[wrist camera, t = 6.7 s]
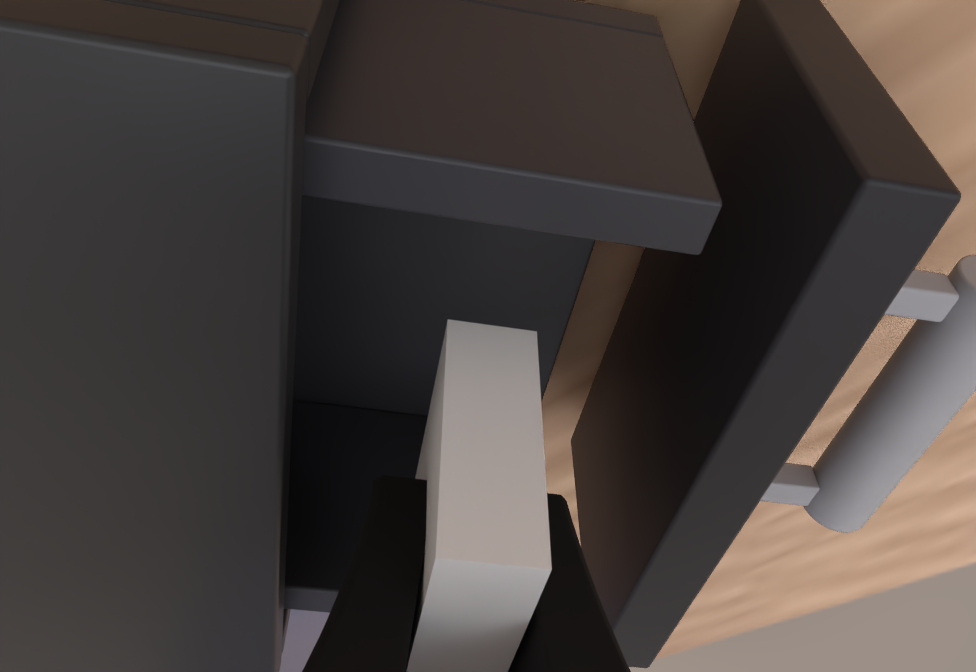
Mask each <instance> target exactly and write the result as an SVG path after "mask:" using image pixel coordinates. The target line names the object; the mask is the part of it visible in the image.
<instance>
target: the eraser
mask: <svg viewBox="0 0 976 672" xmlns="http://www.w3.org/2000/svg"><path fill="white" fill-rule="evenodd" d="M415 479H423V480H427V512H426V542H425V549H424V555H423V562H422V568H421V575H420V581H419V588H418V594H417V600H416V607H415V613H414V619H413V626H412V632H411V639H410V645H409V651H408V658H407V664H406V671H405V672H508V670H509V668H510V665H511V663H512V661H513V658H514V656H515V654H516V651H517V649H518V647H519V645H520V642H521V640H522V638H523V635H524V633H525V631H526V628H527V626H528V624H529V621H530V619H531V617H532V614H533V612H534V610H535V607H536V605H537V603H538V600H539V598H540V596H541V594H542V591H543V589H544V587H545V584H546V582H547V580H548V577H549V575H550V573H551V570H552V565H551V549H550V533H549V517H548V501H547V485H546V469H545V453H544V437H543V421H542V406H541V390H540V374H539V358H538V342H537V331H530V330H523V329H515V328H508V327H501V326H493V325H486V324H479V323H471V322H464V321H457V320H450V319H448V320H447V325H446V330H445V335H444V340H443V345H442V350H441V354H440V359H439V364H438V369H437V374H436V379H435V384H434V389H433V393H432V398H431V403H430V408H429V413H428V418H427V423H426V428H425V432H424V437H423V442H422V447H421V452H420V457H419V462H418V467H417V471H416V476H415Z"/></svg>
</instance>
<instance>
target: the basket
mask: <svg viewBox="0 0 976 672" xmlns="http://www.w3.org/2000/svg"><path fill="white" fill-rule="evenodd" d="M960 198H961V193H960V191H959V190H958V188H957V187H956V186H955V184H954V183H953V182H952V180H951V179H950V178H949V176H948V175H947V173H946V172H945V171H944V169H943V168H942V167H941V165H940V164H939V162H938V161H937V160H936V158H935V157H934V156H933V154H932V153H931V152H930V150H929V149H928V147H927V146H926V145H925V143H924V142H923V141H922V139H921V138H920V137H919V135H918V134H917V132H916V131H915V130H914V128H913V127H912V126H911V124H910V123H909V121H908V120H907V119H906V117H905V116H904V115H903V113H902V112H901V111H900V109H899V108H898V106H897V105H896V104H895V102H894V101H893V100H892V98H891V97H890V95H889V94H888V93H887V91H886V90H885V89H884V87H883V86H882V85H881V83H880V82H879V80H878V79H877V78H876V76H875V75H874V74H873V72H872V71H871V69H870V68H869V67H868V65H867V64H866V63H865V61H864V60H863V59H862V57H861V56H860V54H859V53H858V52H857V50H856V49H855V48H854V46H853V45H852V44H851V42H850V41H849V39H848V38H847V37H846V35H845V34H844V33H843V31H842V30H841V28H840V27H839V26H838V24H837V23H836V22H835V20H834V19H833V18H832V16H831V15H830V13H829V12H828V11H827V9H826V8H825V7H824V5H823V4H822V2H821V1H820V0H741V1H740V4H739V6H738V9H737V11H736V14H735V17H734V19H733V22H732V24H731V27H730V30H729V32H728V35H727V37H726V40H725V43H724V45H723V48H722V50H721V53H720V55H719V58H718V61H717V63H716V66H715V68H714V71H713V74H712V76H711V79H710V81H709V84H708V87H707V89H706V92H705V94H704V97H703V100H702V102H701V105H700V107H699V110H698V112H697V115H696V118H695V120H694V122H693V119H692V116H691V113H690V110H689V108H688V105H687V102H686V99H685V97H684V94H683V91H682V88H681V85H680V83H679V80H678V77H677V74H676V72H675V69H674V66H673V63H672V60H671V58H670V55H669V52H668V49H667V47H666V44H665V41H664V39H663V34H662V31H661V29H660V26H659V23H658V20H657V18H656V17H655V16H653V15H647V14H642V13H637V12H631V11H626V10H621V9H615V8H610V7H605V6H599V5H594V4H588V3H583V2H578V1H572V0H340V1H339V4H338V7H337V10H336V13H335V16H334V20H333V23H332V26H331V29H330V32H329V35H328V39H327V42H326V45H325V48H324V51H323V54H322V57H321V61H320V64H319V67H318V70H317V73H316V76H315V79H314V83H313V86H312V89H311V92H310V95H309V98H308V100H307V102H306V114H305V137H304V160H303V182H302V205H301V227H300V250H299V272H298V295H297V318H296V340H295V363H294V385H293V408H292V431H291V453H290V476H289V498H288V521H287V544H286V566H285V589H284V609H294V610H305V611H316V612H327V613H330V611H331V609H332V607H333V604H334V602H335V600H336V597H337V595H338V592H339V590H340V588H341V585H342V583H343V581H344V578H345V576H346V574H347V571H348V568H349V565H350V563H351V560H352V557H353V554H354V552H355V549H356V546H357V543H358V540H359V537H360V534H361V531H362V528H363V524H364V521H365V517H366V514H367V510H368V506H369V502H370V497H371V491H372V485H373V479H375V478H377V477H380V476H382V475H387V476H396V477H405V478H414V479H415V476H416V471H417V467H418V462H419V457H420V452H421V447H422V442H423V437H424V432H425V428H426V423H427V418H428V413H429V408H430V403H431V398H432V393H433V389H434V384H435V379H436V374H437V369H438V364H439V359H440V354H441V350H442V345H443V340H444V335H445V330H446V325H447V320H448V319H450V320H457V321H464V322H471V323H479V324H486V325H493V326H501V327H508V328H515V329H523V330H530V331H537V342H538V358H539V374H540V390H541V402H542V399H543V396H544V393H545V390H546V387H547V384H548V381H549V378H550V375H551V372H552V369H553V366H554V363H555V360H556V357H557V354H558V351H559V348H560V345H561V342H562V339H563V336H564V333H565V330H566V327H567V324H568V321H569V318H570V315H571V312H572V309H573V306H574V303H575V300H576V297H577V294H578V291H579V288H580V285H581V282H582V279H583V276H584V273H585V270H586V267H587V264H588V261H589V258H590V255H591V252H592V249H593V246H594V243H595V240H599V241H606V242H613V243H619V244H626V245H633V246H639V247H645V250H644V252H643V255H642V257H641V260H640V263H639V265H638V268H637V270H636V273H635V276H634V278H633V281H632V283H631V286H630V289H629V291H628V294H627V296H626V299H625V302H624V304H623V307H622V309H621V312H620V314H619V317H618V320H617V322H616V325H615V327H614V330H613V333H612V335H611V338H610V340H609V343H608V346H607V348H606V351H605V353H604V356H603V358H602V361H601V364H600V366H599V369H598V371H597V374H596V377H595V379H594V382H593V384H592V387H591V390H590V392H589V395H588V397H587V400H586V403H585V405H584V408H583V410H582V413H581V415H580V418H579V421H578V423H577V426H576V428H575V431H574V434H573V436H572V439H571V446H572V456H573V467H574V477H575V488H576V498H577V509H578V519H579V530H580V540H581V549H582V552H583V555H584V558H585V561H586V564H587V566H588V569H589V572H590V574H591V577H592V580H593V582H594V585H595V588H596V590H597V593H598V596H599V598H600V601H601V603H602V606H603V608H604V611H605V613H606V616H607V618H608V621H609V623H610V625H611V628H612V630H613V632H614V635H615V637H616V639H617V642H618V644H619V646H620V649H621V651H622V653H623V656H624V658H625V660H626V663H627V665H628V667H640V668H647V667H649V666H650V665H651V663H652V662H653V660H654V659H655V657H656V656H657V654H658V653H659V651H660V650H661V648H662V647H663V645H664V644H665V642H666V641H667V639H668V638H669V636H670V635H671V633H672V632H673V630H674V629H675V627H676V626H677V624H678V623H679V621H680V620H681V618H682V617H683V615H684V614H685V612H686V611H687V609H688V608H689V606H690V605H691V603H692V602H693V600H694V599H695V597H696V596H697V594H698V593H699V591H700V590H701V588H702V587H703V585H704V584H705V582H706V581H707V579H708V578H709V576H710V575H711V573H712V572H713V570H714V569H715V567H716V566H717V564H718V563H719V561H720V560H721V558H722V557H723V555H724V554H725V552H726V551H727V549H728V548H729V546H730V545H731V543H732V542H733V540H734V539H735V537H736V536H737V534H738V533H739V531H740V530H741V528H742V527H743V525H744V524H745V522H746V521H747V519H748V518H749V516H750V515H751V513H752V512H753V510H754V509H755V507H756V506H757V504H758V503H759V501H767V502H775V503H784V504H793V505H802V506H804V508H805V510H806V511H807V512H808V513H809V515H810V516H811V517H812V518H813V519H814V520H816V521H817V522H818V523H820V524H821V525H823V526H825V527H827V528H829V529H831V530H834V531H837V532H845V533H848V532H854V531H857V530H859V529H860V528H862V527H863V526H864V524H865V523H866V522H867V521H868V520H869V518H870V517H871V516H872V515H873V514H874V512H875V511H876V510H877V509H878V508H879V506H880V505H881V504H882V503H883V502H884V500H885V499H886V498H887V497H888V495H889V494H890V493H891V492H892V491H893V489H894V488H895V487H896V486H897V485H898V483H899V482H900V481H901V480H902V479H903V477H904V476H905V475H906V474H907V473H908V471H909V470H910V469H911V468H912V467H913V465H914V464H915V463H916V462H917V461H918V459H919V458H920V457H921V456H922V455H923V453H924V452H925V451H926V450H927V449H928V447H929V446H930V445H931V444H932V442H933V441H934V440H935V439H936V438H937V436H938V435H939V434H940V433H941V432H942V430H943V429H944V428H945V427H946V426H947V424H948V423H949V422H950V421H951V420H952V418H953V417H954V416H955V415H956V414H957V412H958V411H959V410H960V409H961V408H962V406H963V405H964V404H965V403H966V402H967V400H968V399H969V398H970V397H971V396H972V394H973V393H974V392H975V391H976V255H969V256H966V257H964V258H962V259H960V260H959V261H958V263H957V264H956V265H955V267H954V268H953V270H952V271H951V272H950V274H949V275H948V276H946V275H945V274H941V273H934V272H928V271H921V270H915V267H916V266H917V264H918V263H919V261H920V260H921V258H922V257H923V255H924V254H925V252H926V251H927V249H928V248H929V246H930V245H931V243H932V242H933V240H934V239H935V237H936V236H937V234H938V233H939V231H940V230H941V228H942V227H943V225H944V224H945V222H946V221H947V219H948V218H949V216H950V215H951V213H952V212H953V210H954V209H955V207H956V206H957V204H958V203H959V201H960ZM884 314H885V315H892V316H899V317H906V318H913V319H917V321H916V322H915V324H914V325H913V326H912V328H911V329H910V331H909V332H908V333H907V335H906V336H905V338H904V339H903V341H902V342H901V343H900V345H899V346H898V348H897V349H896V350H895V352H894V353H893V355H892V356H891V358H890V359H889V360H888V362H887V363H886V365H885V366H884V367H883V369H882V370H881V372H880V373H879V375H878V376H877V377H876V379H875V380H874V382H873V383H872V384H871V386H870V387H869V389H868V390H867V392H866V393H865V394H864V396H863V397H862V399H861V400H860V401H859V403H858V404H857V406H856V407H855V409H854V410H853V411H852V413H851V414H850V416H849V417H848V418H847V420H846V421H845V423H844V424H843V426H842V427H841V428H840V430H839V431H838V433H837V434H836V436H835V437H834V438H833V440H832V441H831V443H830V444H829V445H828V447H827V448H826V450H825V451H824V453H823V454H822V455H821V457H820V458H819V460H818V461H817V462H816V464H815V465H814V467H813V468H812V467H811V466H807V465H799V464H791V463H785V462H786V461H787V459H788V458H789V456H790V455H791V453H792V452H793V450H794V449H795V447H796V446H797V444H798V443H799V441H800V440H801V438H802V437H803V435H804V434H805V432H806V431H807V429H808V428H809V426H810V425H811V423H812V422H813V420H814V419H815V417H816V416H817V414H818V413H819V411H820V410H821V408H822V407H823V405H824V404H825V402H826V401H827V399H828V398H829V396H830V395H831V393H832V392H833V390H834V389H835V387H836V386H837V384H838V383H839V381H840V380H841V378H842V377H843V375H844V374H845V372H846V371H847V369H848V368H849V366H850V365H851V363H852V362H853V360H854V359H855V357H856V356H857V354H858V353H859V351H860V350H861V348H862V347H863V345H864V344H865V342H866V341H867V339H868V338H869V336H870V335H871V333H872V332H873V330H874V329H875V327H876V326H877V324H878V323H879V321H880V320H881V318H882V317H883V315H884Z"/></svg>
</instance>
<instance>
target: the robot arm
mask: <svg viewBox="0 0 976 672" xmlns="http://www.w3.org/2000/svg"><path fill="white" fill-rule="evenodd" d="M547 501H548V517H549V533H550V549H551V565H552V570H551V573H550V575H549V577H548V580H547V582H546V584H545V587H544V589H543V591H542V594H541V596H540V598H539V600H538V603H537V605H536V607H535V610H534V612H533V614H532V617H531V619H530V621H529V624H528V626H527V628H526V631H525V633H524V635H523V638H522V640H521V642H520V645H519V647H518V649H517V651H516V654H515V656H514V658H513V661H512V663H511V665H510V668H509V670H508V672H631V671H630V669H629V667H628V665H627V663H626V660H625V658H624V656H623V653H622V651H621V649H620V646H619V644H618V642H617V639H616V637H615V635H614V632H613V630H612V628H611V625H610V623H609V621H608V618H607V616H606V613H605V611H604V608H603V606H602V603H601V601H600V598H599V596H598V593H597V590H596V588H595V585H594V582H593V580H592V577H591V574H590V572H589V569H588V566H587V564H586V561H585V558H584V555H583V552H582V549H581V546H580V543H579V540H578V537H577V534H576V531H575V528H574V525H573V522H572V519H571V515H570V512H569V508H568V505H567V501H566V500H565V499H564V498H563V497H562V496H561V495H557V494H548V493H547ZM426 512H427V480H423V479H414V478H405V477H396V476H387V475H382V476H380V477H377V478H375V479H373V485H372V491H371V497H370V502H369V506H368V510H367V514H366V517H365V521H364V524H363V528H362V531H361V534H360V537H359V540H358V543H357V546H356V549H355V552H354V554H353V557H352V560H351V563H350V565H349V568H348V571H347V574H346V576H345V578H344V581H343V583H342V585H341V588H340V590H339V592H338V595H337V597H336V600H335V602H334V604H333V607H332V609H331V611H330V613H327V612H316V611H305V610H294V609H291V611H290V616H289V622H288V627H287V633H286V638H285V644H284V649H283V652H282V657H281V666H280V671H279V672H405V671H406V664H407V658H408V651H409V645H410V639H411V632H412V626H413V619H414V613H415V607H416V600H417V594H418V588H419V581H420V575H421V568H422V562H423V555H424V549H425V542H426Z"/></svg>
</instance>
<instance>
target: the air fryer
mask: <svg viewBox="0 0 976 672" xmlns="http://www.w3.org/2000/svg"><path fill="white" fill-rule="evenodd" d="M339 1H340V0H0V672H279V671H280V666H281V657H282V652H283V649H284V644H285V638H286V633H287V627H288V622H289V616H290V611H291V609H284V589H285V566H286V544H287V521H288V498H289V476H290V453H291V431H292V408H293V385H294V363H295V340H296V318H297V295H298V272H299V250H300V227H301V205H302V182H303V160H304V137H305V114H306V102H307V100H308V98H309V95H310V92H311V89H312V86H313V83H314V79H315V76H316V73H317V70H318V67H319V64H320V61H321V57H322V54H323V51H324V48H325V45H326V42H327V39H328V35H329V32H330V29H331V26H332V23H333V20H334V16H335V13H336V10H337V7H338V4H339Z"/></svg>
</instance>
